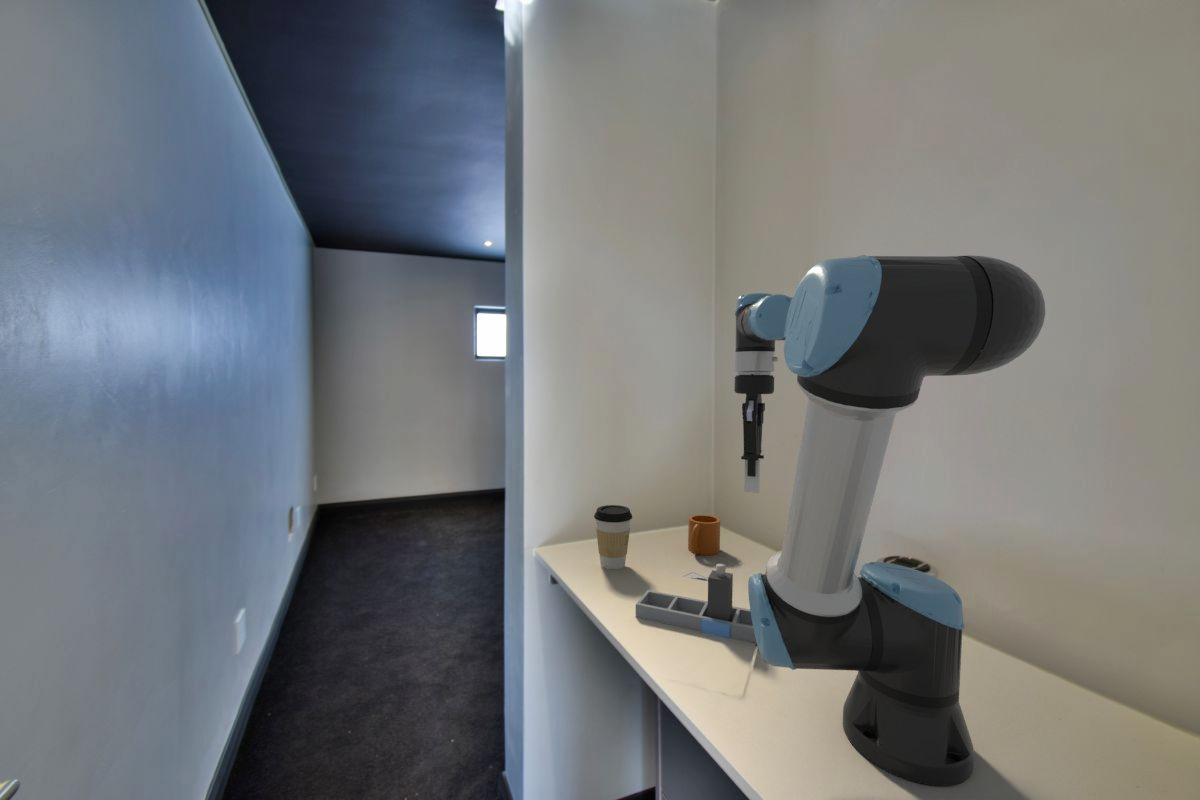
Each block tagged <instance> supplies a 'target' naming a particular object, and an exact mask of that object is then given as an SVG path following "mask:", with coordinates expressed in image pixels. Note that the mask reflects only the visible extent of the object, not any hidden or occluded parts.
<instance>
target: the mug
mask: <svg viewBox="0 0 1200 800" xmlns="http://www.w3.org/2000/svg"><path fill="white" fill-rule="evenodd" d="M687 530H688V532H687V533H688V534H687V535H688V536H687V537H688V538H687V549H688V551H689V552H691V553H692V554H695V555H697V556H698V555H700V556H701V555H702V556H713V555H718V554H719V553H720V551H721V549H720V548H721V519H720V517H717V516H714V515H710V514H694V515H690V516H689V517H688V529H687Z"/></svg>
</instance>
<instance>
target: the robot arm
mask: <svg viewBox="0 0 1200 800" xmlns="http://www.w3.org/2000/svg"><path fill="white" fill-rule="evenodd" d="M734 316H735V350H734V371H735V372H736V373H737V374H735V376H734V388H733V389H734V392H735V393H736V394H740V395H741V394H743V395H745V402H744V403H743V402H742V404H741V405H742V406H741V412H742V413H741V414H742V425H743V430H742V431H743V454H742V456H741V457H740V459H741V460H744V486H743V487H744V488H743V489H744V491H743V492H745V493H746V492H747V493H752V494H753V493H754V494H759V493H760V482H761V480H760V476H761V472H760V471H761V460H762V459H763V460H764V459H765V457H764V456H765V455H764V454H763V455H762V441H763V439H762V437H763V424H764V416H765V415H764V413H765V411H766V403H765V402H763V401H762V399H763V397H762V396H763V395H772V394H774V392H775V376H774V375H773V374H771V373H773V372H775V362H778V361H779V358H778V356H775V352H776V341H784V343H783V355H784V361H785V363H786V366H787V368H788V369H789V370H790V372H791V373H793V374H795V375H797V376H796V377H797V378H796V384H797V386H798V388H799V389H800V390H801V391H802V392H803V394H804V395H805V396H806V397H807V398H808V399H807V405H806V409H805V410H806V411H805V416H804V422H803V429H802V434H801V440H800V445H799V449H798V450H799V451H798V456H797V463H796V467H795V474H794V478H793V483H792V492H791V496H790V502H789V508H788V514H787V518H786V525H785V531H784V536H783V541H782V548H781V550H779V551H778V552H775V553H774V554H773V555H771V557H770V558H769V560H768V561H767V564H766V567H765V574H764V573H763V574H762V572H758V573H756V574H751V575H749V579H748V583H747V587H748V589H747V590H748V603H749V610H750V611H751V618H752V623H753V629H754V633H755V638H756V642H757V645H758V647H757V648H758V652H759V654H760V656H761V657H762V659H763V660H764V661H765V662H766V663H767V664H768V665H770V666H772V667H778V668H779V667H780V668H787V669H791V670H792V671H793V670H796V669H797V670H798V669H799V670H829V671H857V674H856V677H855V678H854V681H853V682H852V683H853V684H852V686H851V687H850V690H849V693H848V695H847V697H846V699H845V701H844V704H843V709H842V729H843V732H844V733H845V735H846V736H845V737H847V739H848V740H849V742H850V743H851V744H852V745H853V747H854V748H855V749H856V750H857V751H858V753H860V754H861V755H863V756H864V757H865V758H866V759H867V760H869V761H870V762H872V763H873V764H874V765H876V766H878V767H879V768H881V769H883V770H885V771H887V772H888V773H891V774H893V775H895V776H898V777H900V778H903V779H905V780H908V781H912V782H915V783H919V784H923V785H930V786H937V787H938V786H939V787H941V786H942V787H943V786H944V787H946V786H954V785H958V784H961V783H964V782H965V781H966V780H968V779H969V778H970V776H971V775H972V773H973V771H974V759H975V758H974V756H975V755H974V753H975V752H974V751H975V750H974V745H973V741H972V738H971V736H970V731H969V729H968V726H967V722H966V720H965V717H964V713H963V711H962V707H961V704H960V703H961V702H960V687H961V686H960V685H961V670H962V669H961V668H962V667H961V666H962V643H963V630H964V629H965V624H964V613H963V612H964V611H963V601H962V598H961V596H960V595H959V593H958V592H957V590H955V588H953V587H952V586H951V585H950V584H948V583H946V582H944V580H941V579H939V578H937V577H935V576H933V575H930V574H929V573H926V572H923V571H921V570H918V569H914V568H911V567H907V566H905V565H904V566H903V565H900V564H896V563H890V562H883V561H871V562H868V563H864V564H863V565H862V567H861V569H860V570H859V575H860V576H857V575H856V573H855V571H856V566H857V561H858V558H859V554H860V551H861V547H862V542H863V539H864V535H865V532H866V527H867V525H868V521H869V517H870V513H871V509H872V505H873V502H874V498H875V494H876V489H877V485H878V483H879V479H880V474H881V471H882V467H883V463H884V461H885V455H886V452H887V448H888V444H889V439H890V436H891V433H892V429H893V425H894V422H895V418H896V414H898V413H899V412H901V411H904V410H906V409H908V408H910V407H913V405H915V404H916V403H917V400H918V398H919V395H920V390H921V388H922V384H923V381H924V378H925V377H932V376H933V377H935V376H937V377H938V376H939V377H942V376H945V377H946V376H948V377H949V376H950V377H952V376H968V375H975V374H982V373H985V372H988V371H992V370H994V369H996V370H997V369H998V368H1001V367H1003V366H1005V365H1007V364H1009V363H1011V362H1013V361H1014V360H1016V359H1017V358H1019V357H1020V356H1021V355H1023V354H1024V353H1025V352H1026V351H1027V350H1028V349H1029V348H1030V347H1031V346H1032V345H1033V344H1034V342H1035V341H1036V339H1037V338H1038V337H1039V335H1040V333H1041V330H1042V327H1043V325H1044V322H1045V319H1046V302H1045V299H1044V295H1043V292H1042V290H1041V288H1040V286H1039V285H1038V283H1037V282H1036V280H1034V279H1033V277H1031V275H1029V274H1028V273H1027V272H1025V271H1024V270H1023V269H1022V268H1021V267H1019V266H1017V265H1015V264H1013V263H1011V262H1007V261H1006V260H1001V259H999V258H995V257H992V256H991V257H990V256H984V255H983V256H982V255H958V256H956V255H955V256H954V255H953V256H951V255H949V256H945V255H943V256H940V255H938V256H935V255H934V256H932V255H931V256H929V255H927V256H926V255H922V256H921V255H920V256H919V255H918V256H916V255H915V256H912V255H902V256H901V255H865V254H862V255H858V256H854V257H853V256H852V257H851V256H850V257H843V258H842V257H840V258H830V259H826V260H823V261H820V262H818V263H816V264H815V265H813V266H812V267H811V268H810V269H809V270H808V271H807V272H806V274H805V275H804V276H803V277H802V278H801V281H799V284H798V286H797V287H796V289H795V291H794V293H793V296H792V297H789V296H788V295H785V294H783V293H782V294H779V293H776V294H772V293H766V292H765V293H764V292H755V293H754V292H753V293H747V294H741V295H739V296H738V297H737V299H736V308H735V312H734Z"/></svg>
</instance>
